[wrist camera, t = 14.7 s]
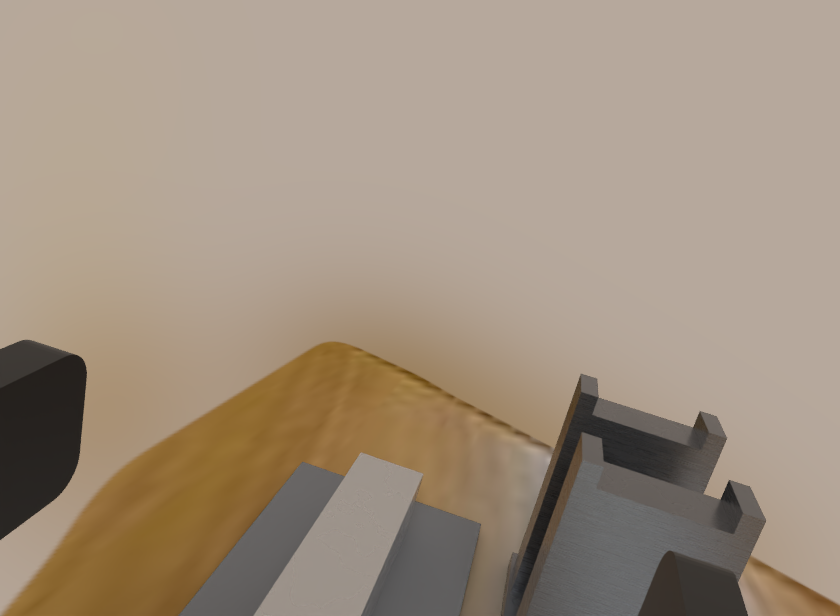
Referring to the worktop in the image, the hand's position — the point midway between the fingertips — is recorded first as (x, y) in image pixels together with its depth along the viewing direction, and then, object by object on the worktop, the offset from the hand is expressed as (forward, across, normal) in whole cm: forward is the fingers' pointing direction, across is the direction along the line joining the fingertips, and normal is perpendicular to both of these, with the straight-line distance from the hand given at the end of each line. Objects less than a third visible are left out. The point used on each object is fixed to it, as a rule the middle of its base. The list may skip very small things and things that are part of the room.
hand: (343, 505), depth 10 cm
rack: (+21, -8, +18) cm, 29 cm away
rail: (+16, +3, +18) cm, 24 cm away
